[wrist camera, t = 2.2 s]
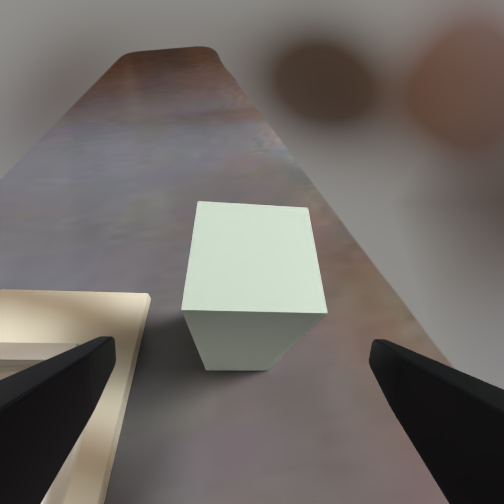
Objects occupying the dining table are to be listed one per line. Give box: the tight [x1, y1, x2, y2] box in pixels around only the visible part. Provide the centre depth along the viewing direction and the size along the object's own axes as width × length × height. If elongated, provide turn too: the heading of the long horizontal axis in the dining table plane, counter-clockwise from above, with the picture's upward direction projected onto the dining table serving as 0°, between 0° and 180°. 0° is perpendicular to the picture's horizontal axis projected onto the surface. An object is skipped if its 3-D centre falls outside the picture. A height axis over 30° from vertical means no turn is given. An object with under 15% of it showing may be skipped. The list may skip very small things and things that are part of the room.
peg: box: [181, 201, 327, 371], centre depth 14 cm, size 4×4×12 cm
